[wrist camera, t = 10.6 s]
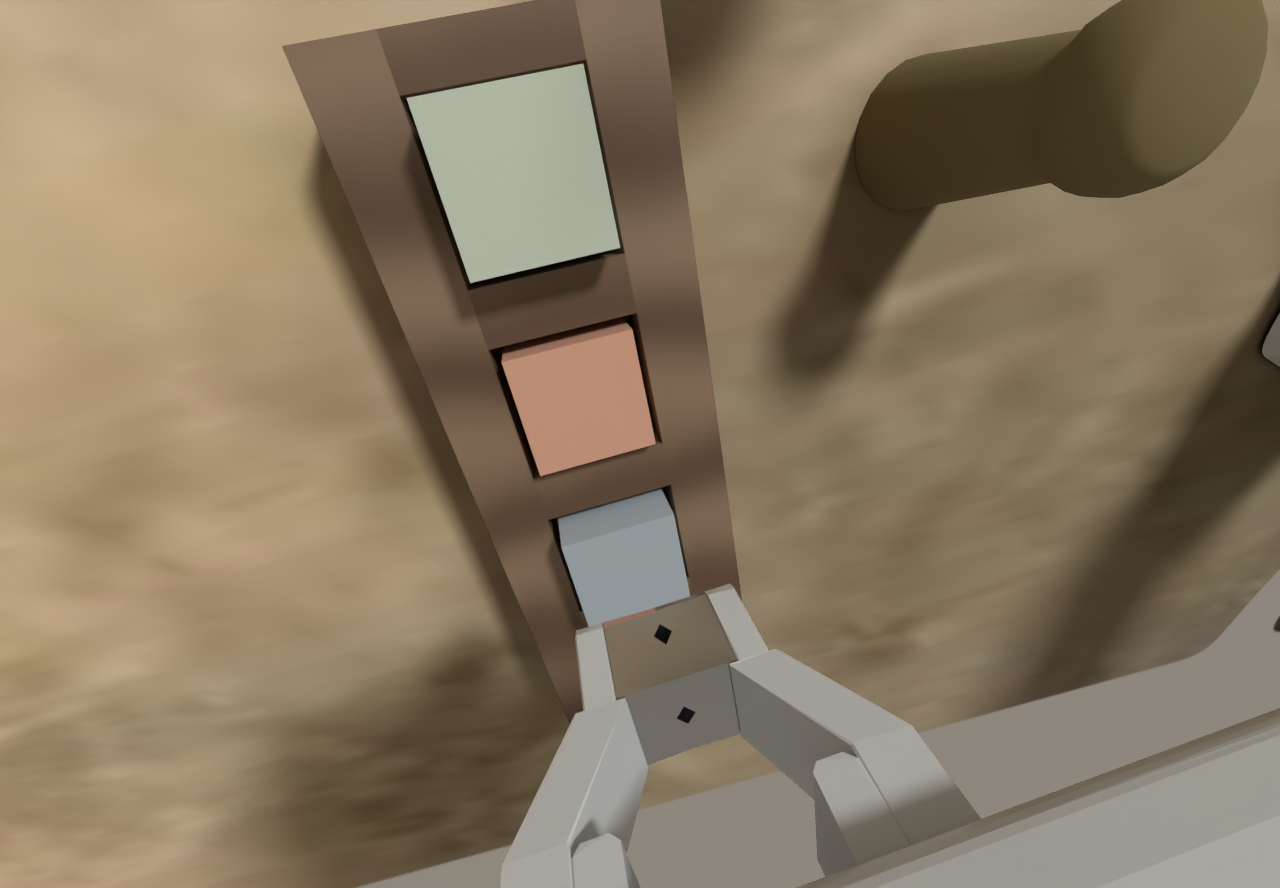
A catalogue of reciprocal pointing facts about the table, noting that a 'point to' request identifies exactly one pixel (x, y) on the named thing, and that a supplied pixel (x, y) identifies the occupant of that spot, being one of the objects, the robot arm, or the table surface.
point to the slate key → (624, 556)
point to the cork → (1065, 106)
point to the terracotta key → (579, 394)
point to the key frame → (537, 281)
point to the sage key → (518, 170)
